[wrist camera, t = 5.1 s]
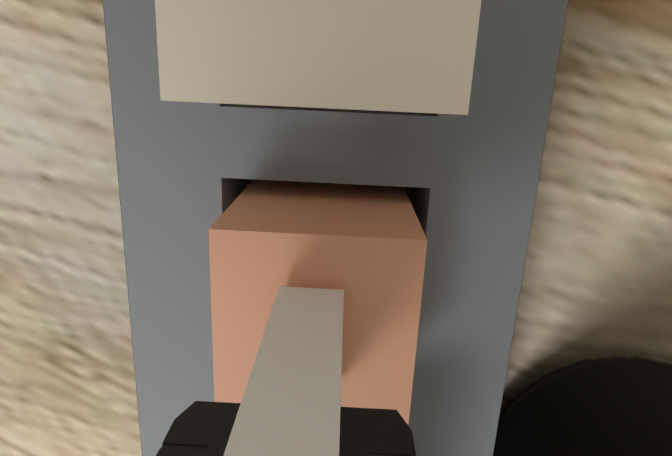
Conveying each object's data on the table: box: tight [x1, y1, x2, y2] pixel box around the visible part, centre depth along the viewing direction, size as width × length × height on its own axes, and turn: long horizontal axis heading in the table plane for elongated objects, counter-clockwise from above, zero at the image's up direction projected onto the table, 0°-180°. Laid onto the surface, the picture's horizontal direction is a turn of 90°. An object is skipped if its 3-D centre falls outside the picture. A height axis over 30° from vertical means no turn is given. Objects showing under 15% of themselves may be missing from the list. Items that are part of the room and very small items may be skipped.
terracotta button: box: [209, 179, 427, 425], centre depth 15 cm, size 5×5×6 cm
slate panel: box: [103, 0, 568, 456], centre depth 17 cm, size 12×26×4 cm, turn 178°
